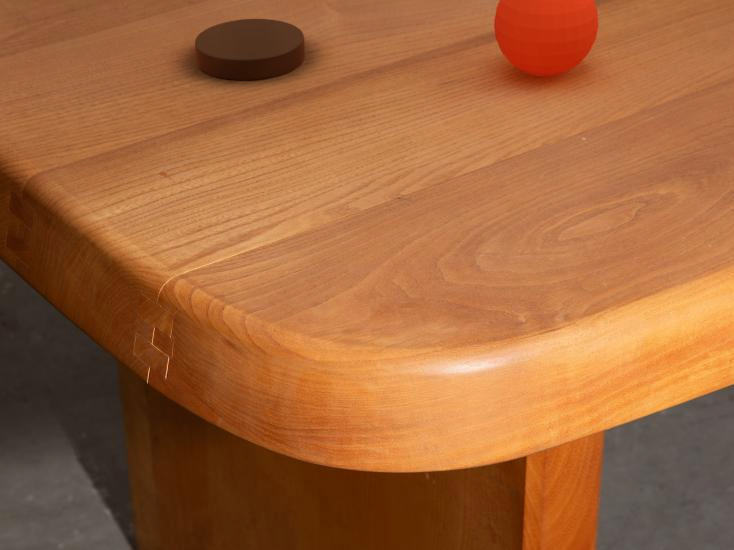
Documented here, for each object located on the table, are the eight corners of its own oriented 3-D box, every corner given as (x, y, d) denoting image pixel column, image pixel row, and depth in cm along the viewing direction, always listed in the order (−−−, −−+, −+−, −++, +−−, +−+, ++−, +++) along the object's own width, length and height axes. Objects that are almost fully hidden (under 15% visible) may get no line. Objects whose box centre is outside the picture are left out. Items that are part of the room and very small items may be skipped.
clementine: (459, 70, 99) (460, -32, 95) (523, 41, 103) (527, -59, 99) (553, 102, 94) (558, -4, 90) (616, 69, 99) (623, -34, 94)
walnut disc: (200, 85, 98) (198, 64, 97) (193, 43, 104) (191, 23, 104) (311, 75, 99) (310, 54, 98) (298, 34, 105) (297, 14, 105)
